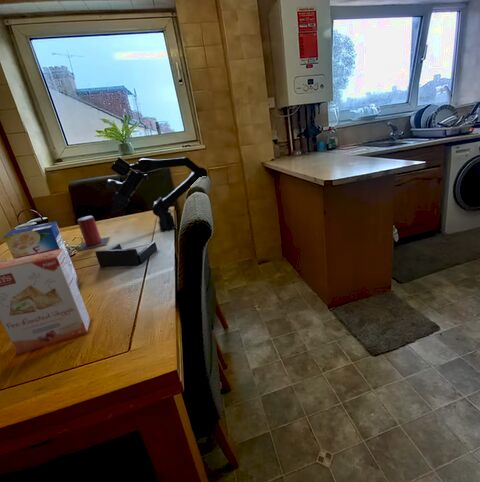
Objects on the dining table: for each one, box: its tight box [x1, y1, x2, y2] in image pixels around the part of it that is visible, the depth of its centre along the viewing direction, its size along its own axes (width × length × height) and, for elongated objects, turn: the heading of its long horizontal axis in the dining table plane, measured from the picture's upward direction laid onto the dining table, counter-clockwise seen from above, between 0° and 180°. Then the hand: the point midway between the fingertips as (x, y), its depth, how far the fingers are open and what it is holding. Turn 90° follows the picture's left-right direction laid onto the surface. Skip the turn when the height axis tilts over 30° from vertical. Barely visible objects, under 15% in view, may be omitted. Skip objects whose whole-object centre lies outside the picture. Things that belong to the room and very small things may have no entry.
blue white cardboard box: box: [3, 220, 80, 287], centre depth 83 cm, size 7×11×22 cm, turn 116°
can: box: [76, 215, 102, 246], centre depth 125 cm, size 6×6×12 cm
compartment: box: [94, 241, 158, 268], centre depth 105 cm, size 13×16×7 cm
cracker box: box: [0, 249, 91, 355], centre depth 63 cm, size 14×6×21 cm, turn 114°
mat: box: [77, 236, 110, 252], centre depth 127 cm, size 11×11×1 cm
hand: (112, 211), depth 126 cm, fingers open, 9 cm apart
